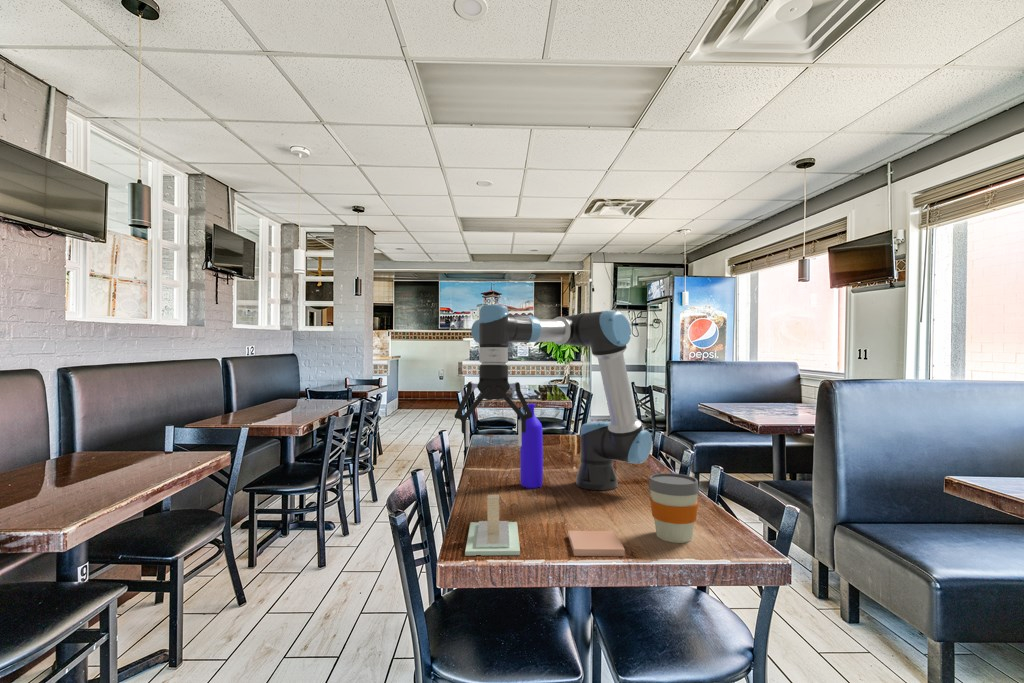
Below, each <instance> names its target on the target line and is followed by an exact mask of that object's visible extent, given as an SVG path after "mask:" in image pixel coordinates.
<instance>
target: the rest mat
mask: <svg viewBox="0 0 1024 683" xmlns="http://www.w3.org/2000/svg"><path fill="white" fill-rule="evenodd" d="M508 524H509V548H476V542H477V535H478V527H479V521H475V522H473V521H471V522H470V523H469V529H468V534H467V539H466V545H465V551H464V556H465V557H466V556H472V557H473V556H475V557H477V556H476V555H481V556H521V549H520V548H521V547H520V546H521V545H520V539H519V538H520V537H519V528H518V521H508Z"/></svg>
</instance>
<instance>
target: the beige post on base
mask: <svg viewBox="0 0 1024 683" xmlns="http://www.w3.org/2000/svg"><path fill="white" fill-rule="evenodd" d="M486 504H487V506H486V507H487V511H486V512H487V520H479V521H478V522H479V527H478V535H477V542H476V548H509V524H508V522H509V520H500V494H487V503H486Z"/></svg>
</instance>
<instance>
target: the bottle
mask: <svg viewBox="0 0 1024 683" xmlns="http://www.w3.org/2000/svg"><path fill="white" fill-rule="evenodd" d="M527 405H528V407H529V409H530V411H531V413H532V415H533V417H532V418H529V419H527V420H526V432H525V433H522V446H519V447H520V449H519V450H520V451H519V452H520V455H519V457H520V458H519V459H520V460H519V461H520V462H519V463H520V465H519V466H520V467H519V468H520V486H521V487H522V486H523V487H522V488H524V487H526V488H525V489H539V488H538V487H540V488H542V486H543V479H544V476H543V475H544V472H543V471H544V456H543V455H544V447H543V446H544V444H543V440H544V439H543V435H544V434H543V425H542V422H540V420H539V418H537V416H536V415H535V406H536V403H527Z"/></svg>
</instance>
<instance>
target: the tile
mask: <svg viewBox="0 0 1024 683" xmlns="http://www.w3.org/2000/svg"><path fill="white" fill-rule="evenodd" d="M567 534H568V536H567V537H568V540H569V543H570V547H571V549H572V554H573V556H574V557H625V556H626V549H625V547H624V545H623V544H622V542H621V540H620V539H619V537H618V534H617V533H616V530H568V532H567Z"/></svg>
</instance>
